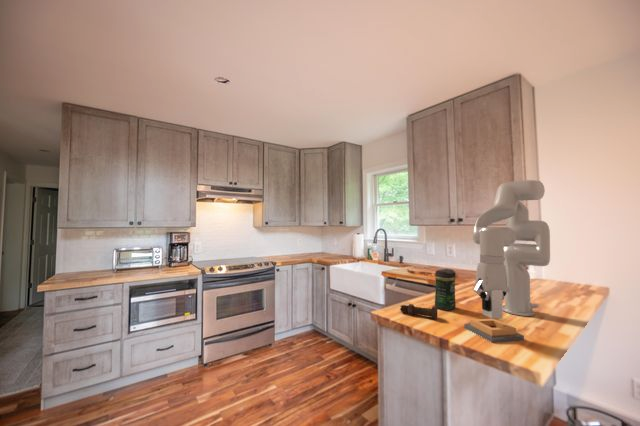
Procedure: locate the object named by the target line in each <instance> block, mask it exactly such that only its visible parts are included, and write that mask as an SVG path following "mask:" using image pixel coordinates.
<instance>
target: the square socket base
mask: <svg viewBox="0 0 640 426" xmlns="http://www.w3.org/2000/svg"><path fill="white" fill-rule="evenodd" d="M464 328H465V329H466V330H468V331H470V332H471V331H472V332H471V333H473V332H474V334H475V333H476V334H475V335H477V334H478V335H477V336H479V335H480V336H479V337H481V336H482V337H483V339H484V338H485V339H484V340H486V339H487V341H488V340H489V341H488V342H490V341H491V342H490V343H503V342H517V341H525V335H524V334H521V333H519V332H517V327H513V326H511V325H509V324H507V323H504V322H502V321H500V320H498V319H497V318H480V319H479V318H478V319H470V323H464ZM482 337H481V338H482Z"/></svg>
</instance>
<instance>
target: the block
mask: <svg viewBox="0 0 640 426" xmlns="http://www.w3.org/2000/svg"><path fill="white" fill-rule="evenodd" d="M485 295H486V292H485ZM489 300H490V311H486V310H483V309H482V308H481V310H482V315H483V316H485V317H488V318H489V319H503V317H504V316H503V312H504V311H503V310H502V306H503V300H502V290H491V292H490V295H489Z"/></svg>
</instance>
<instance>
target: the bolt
mask: <svg viewBox="0 0 640 426" xmlns="http://www.w3.org/2000/svg"><path fill="white" fill-rule="evenodd" d="M399 310H400V313H405V314H408V315H409V316H414V315H419V316H425V317H430V318H431V319H432V320H433V321H437V319H438V308H437V307H436V306H435V305H433V306H432V307H431V308H430V307H429V308H428V307H420V306H415V305H414V304H412V303H409V304H408V305H404V304H402V305H400V308H399Z"/></svg>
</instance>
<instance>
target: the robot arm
mask: <svg viewBox="0 0 640 426" xmlns="http://www.w3.org/2000/svg"><path fill="white" fill-rule="evenodd" d="M544 196H545V185H544V184H543V182H542V181H540V180H533V179H532V180H531V179H527V180H519V181H518V180H516V181H507V182H503V183H501V184H500V185H499V186H498V187H497V189H496V194H495V197H494V201H493V203H492V206H491V207H490V208H489V209H487V210H485V211H484V212H482V214H481V215H479V216H478V217H477V219H476V221H475V224H474V227H473V231H472V240H473V242H474V243H475V244H477V245H479V263H477V266H476V273H475V283H474V284H475V287H474V289H473V291H474V292H475V293H476V294H478V296H479V297H480V299H481V310H482V309H483V310H486V311H490V300H489V295H490V292H491V290H502V301H503V300H504V305H502V310H503V312H505V313H508V314H509V315H510V314H511V315H515V316H522V317H533V316H535V315H536V312H535V311H534V310H533V309H536V308H537V309H538V308H539V307H540V306H539V304H538V303H532V302H531V276H530V273H529V271H528V270H527V268H525V266H535V267H546V266H549V264H550V261H551V233H550V232H551V231H550V227H549V225H548V223H547V222H546V221H545V220H544V221H543V220H530V219H529V209H528V208H527V207H526V205H525V204H523V203H522V201H538V200H539V201H540V200H541V199H543V197H544ZM505 220H506V221H505ZM500 221H505V226H490V225H493V224H495V223H497V222H500ZM516 241H518V242H519V241H520V242H521V241H522V242H534V243H536V244H534V243H516ZM485 292H486V295H485Z"/></svg>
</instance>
